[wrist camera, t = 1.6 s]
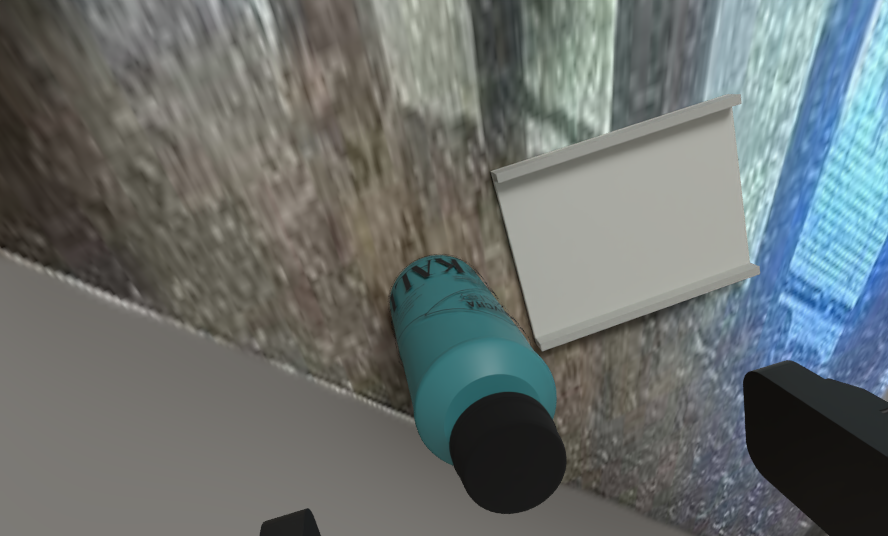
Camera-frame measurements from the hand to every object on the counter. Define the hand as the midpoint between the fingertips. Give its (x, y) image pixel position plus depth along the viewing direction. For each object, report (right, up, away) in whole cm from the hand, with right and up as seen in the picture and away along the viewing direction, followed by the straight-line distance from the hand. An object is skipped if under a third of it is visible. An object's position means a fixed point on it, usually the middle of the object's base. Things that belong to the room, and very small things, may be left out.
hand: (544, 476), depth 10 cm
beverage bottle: (-3, +2, +29) cm, 29 cm away
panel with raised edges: (+11, +7, +30) cm, 32 cm away
